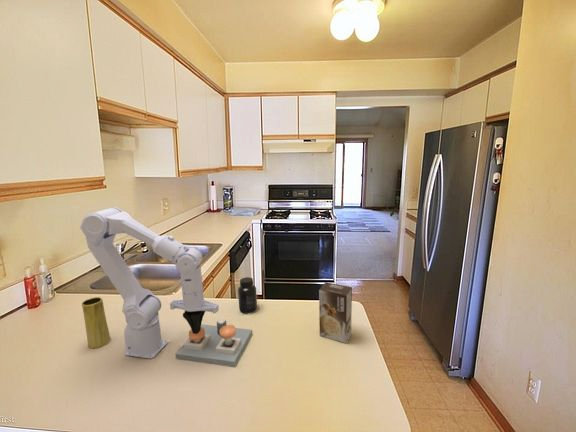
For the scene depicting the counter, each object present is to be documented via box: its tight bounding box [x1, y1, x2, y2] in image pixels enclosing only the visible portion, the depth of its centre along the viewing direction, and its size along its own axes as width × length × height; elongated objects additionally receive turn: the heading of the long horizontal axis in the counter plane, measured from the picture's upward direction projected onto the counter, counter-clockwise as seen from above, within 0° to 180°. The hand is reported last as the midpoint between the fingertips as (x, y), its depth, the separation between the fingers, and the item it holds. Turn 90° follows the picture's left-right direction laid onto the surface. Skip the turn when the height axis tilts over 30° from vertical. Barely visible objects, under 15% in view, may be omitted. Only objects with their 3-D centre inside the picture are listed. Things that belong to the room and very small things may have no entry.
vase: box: [81, 296, 111, 349], centre depth 89 cm, size 6×6×14 cm
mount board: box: [174, 323, 253, 368], centre depth 88 cm, size 18×15×3 cm
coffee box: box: [318, 282, 353, 344], centre depth 91 cm, size 9×6×16 cm
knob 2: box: [219, 324, 237, 345], centre depth 84 cm, size 5×5×4 cm
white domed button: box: [216, 318, 228, 335], centre depth 91 cm, size 3×3×4 cm
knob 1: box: [188, 327, 205, 344], centre depth 86 cm, size 5×5×4 cm
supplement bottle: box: [237, 276, 258, 315], centre depth 107 cm, size 7×7×12 cm
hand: (196, 331), depth 86 cm, fingers closed, pressing on knob 1
